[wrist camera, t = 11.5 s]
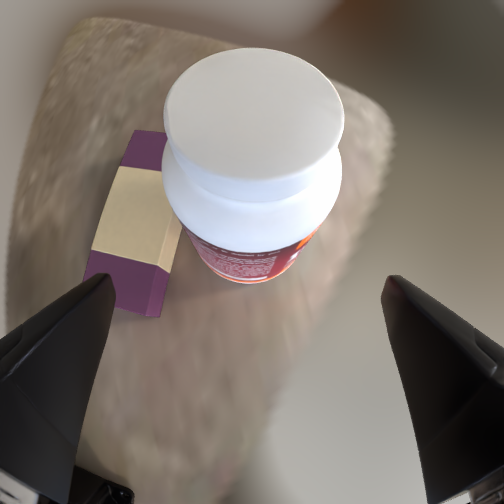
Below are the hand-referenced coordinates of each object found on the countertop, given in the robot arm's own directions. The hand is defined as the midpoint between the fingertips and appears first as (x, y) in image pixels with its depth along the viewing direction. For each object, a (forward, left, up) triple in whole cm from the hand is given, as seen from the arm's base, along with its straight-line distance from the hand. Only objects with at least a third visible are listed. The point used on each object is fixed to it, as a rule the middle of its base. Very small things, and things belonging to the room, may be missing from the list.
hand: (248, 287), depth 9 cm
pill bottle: (+4, +1, -8) cm, 9 cm away
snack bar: (+3, +7, -8) cm, 10 cm away
